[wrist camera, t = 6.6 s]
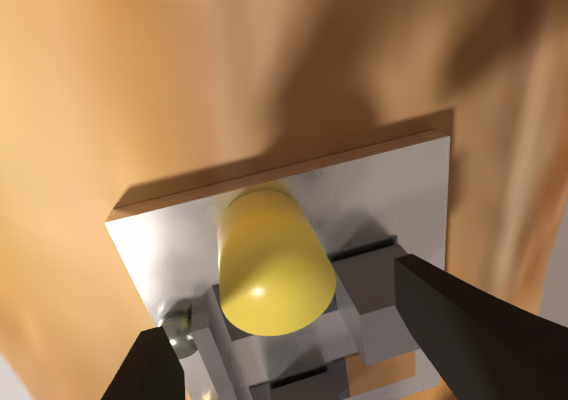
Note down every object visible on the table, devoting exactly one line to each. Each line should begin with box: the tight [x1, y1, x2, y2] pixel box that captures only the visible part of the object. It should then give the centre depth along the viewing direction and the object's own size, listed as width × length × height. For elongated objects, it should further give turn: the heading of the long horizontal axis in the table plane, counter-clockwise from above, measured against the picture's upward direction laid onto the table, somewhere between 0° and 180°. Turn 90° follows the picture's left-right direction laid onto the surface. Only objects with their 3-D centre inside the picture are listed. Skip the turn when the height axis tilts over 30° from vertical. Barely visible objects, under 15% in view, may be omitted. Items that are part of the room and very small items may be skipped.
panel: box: [105, 130, 450, 400], centre depth 18 cm, size 18×15×3 cm
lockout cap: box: [217, 191, 336, 336], centre depth 13 cm, size 4×4×4 cm
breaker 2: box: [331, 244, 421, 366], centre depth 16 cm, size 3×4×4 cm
